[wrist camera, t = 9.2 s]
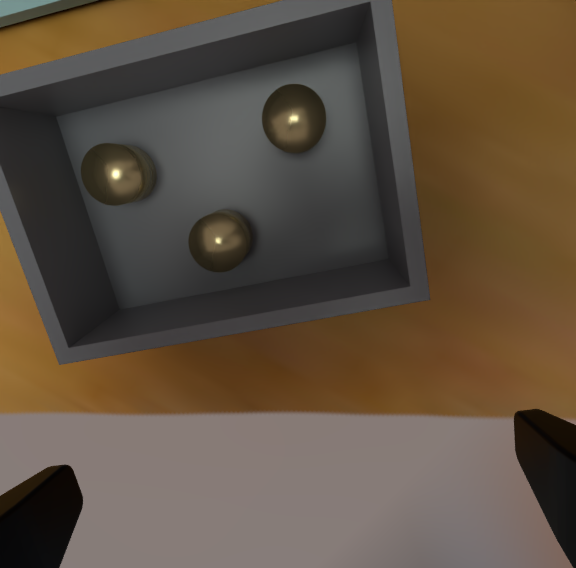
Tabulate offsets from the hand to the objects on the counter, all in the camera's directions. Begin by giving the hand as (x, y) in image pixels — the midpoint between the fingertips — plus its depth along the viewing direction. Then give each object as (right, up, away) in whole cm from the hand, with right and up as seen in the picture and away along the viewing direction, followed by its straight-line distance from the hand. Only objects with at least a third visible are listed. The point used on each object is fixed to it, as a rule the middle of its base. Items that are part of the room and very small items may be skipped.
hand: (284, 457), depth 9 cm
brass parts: (-3, +8, +10) cm, 13 cm away
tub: (-3, +8, +11) cm, 13 cm away
